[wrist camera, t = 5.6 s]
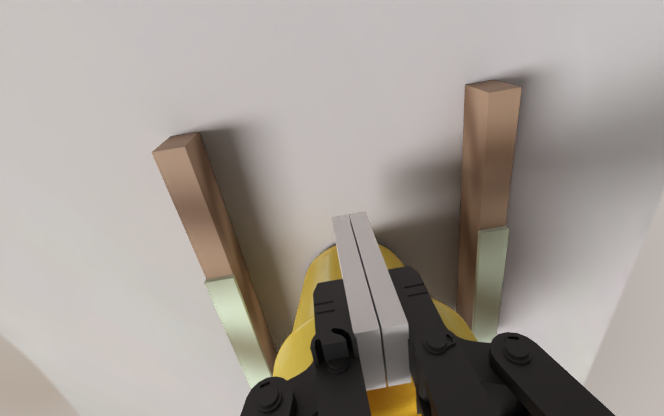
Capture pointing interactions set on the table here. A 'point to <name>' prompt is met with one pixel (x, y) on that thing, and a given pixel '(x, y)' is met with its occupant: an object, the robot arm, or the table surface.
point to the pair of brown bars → (474, 238)
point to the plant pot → (295, 354)
